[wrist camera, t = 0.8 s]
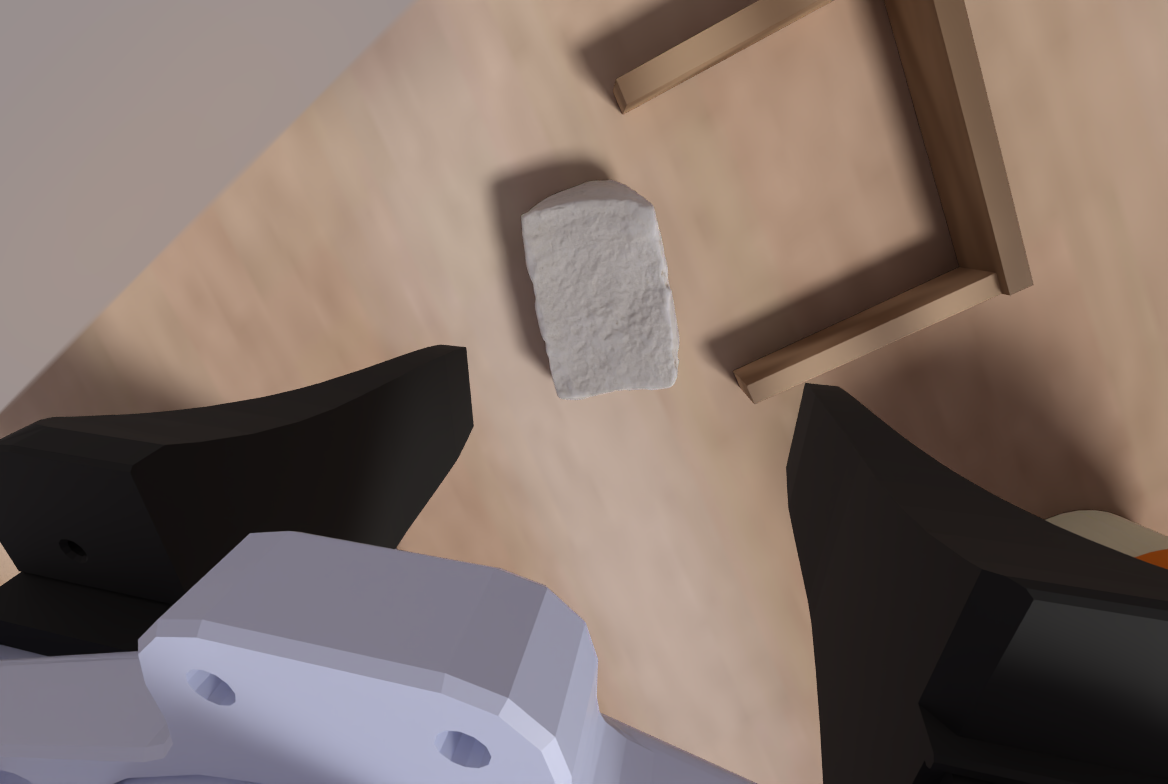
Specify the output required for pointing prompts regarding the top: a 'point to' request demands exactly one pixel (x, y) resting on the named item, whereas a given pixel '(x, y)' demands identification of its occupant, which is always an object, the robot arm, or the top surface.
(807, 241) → the top surface
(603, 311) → the white rough stone
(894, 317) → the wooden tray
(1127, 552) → the reusable coffee cup
